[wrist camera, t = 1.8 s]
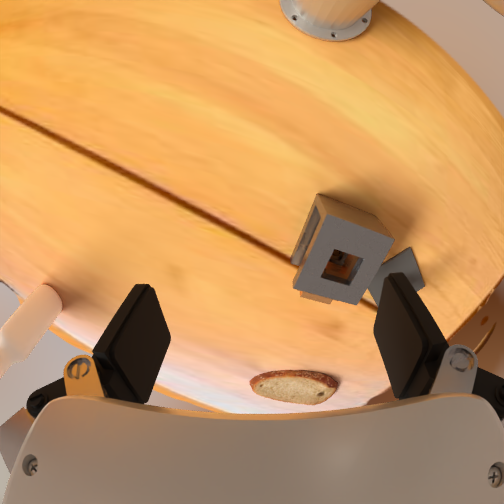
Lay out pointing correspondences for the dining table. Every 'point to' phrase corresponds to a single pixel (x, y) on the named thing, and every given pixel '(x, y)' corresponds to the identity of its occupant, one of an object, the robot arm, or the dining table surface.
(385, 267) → the mat
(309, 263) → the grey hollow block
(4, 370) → the alcohol
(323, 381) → the slice of bread
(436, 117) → the dining table surface
